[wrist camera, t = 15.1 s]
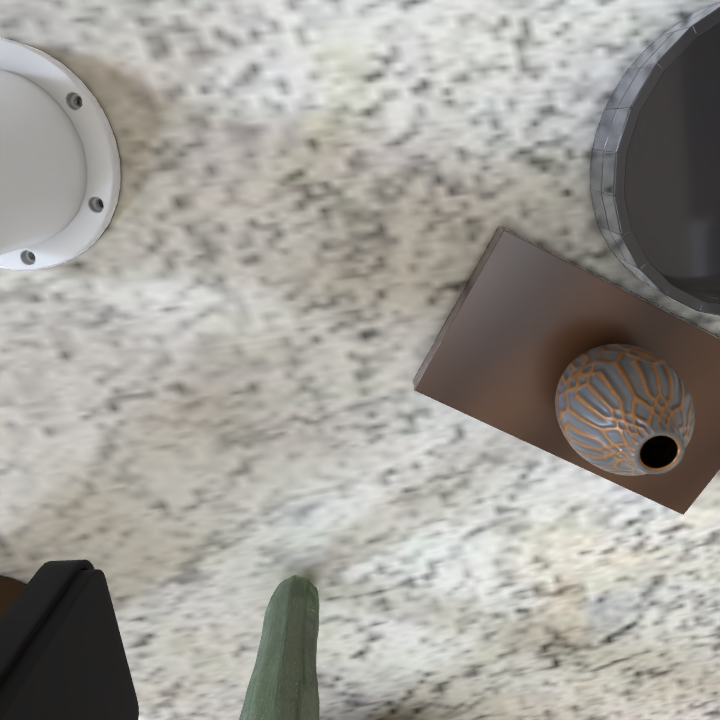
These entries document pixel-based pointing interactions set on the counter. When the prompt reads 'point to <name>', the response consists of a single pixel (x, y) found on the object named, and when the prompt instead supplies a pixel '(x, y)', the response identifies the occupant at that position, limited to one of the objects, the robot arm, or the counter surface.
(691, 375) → the board
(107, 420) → the counter surface
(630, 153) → the pan
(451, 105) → the counter surface
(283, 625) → the vegetable
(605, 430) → the vase
